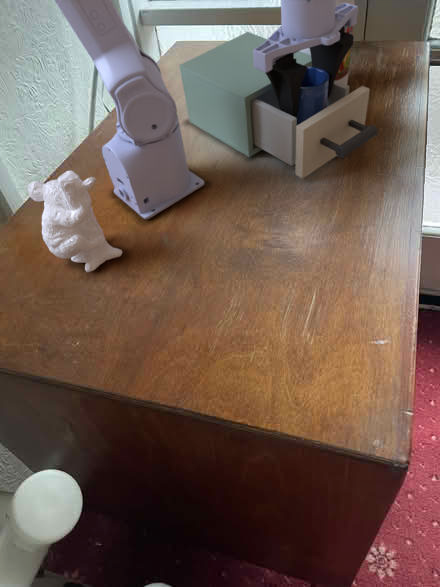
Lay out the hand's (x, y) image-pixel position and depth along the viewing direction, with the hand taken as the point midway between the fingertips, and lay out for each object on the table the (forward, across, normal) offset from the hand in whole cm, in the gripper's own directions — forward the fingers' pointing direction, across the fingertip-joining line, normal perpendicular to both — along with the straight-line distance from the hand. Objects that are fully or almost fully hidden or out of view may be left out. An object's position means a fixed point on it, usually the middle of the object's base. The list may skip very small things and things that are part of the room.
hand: (305, 105), depth 58 cm
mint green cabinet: (+6, 0, +11) cm, 12 cm away
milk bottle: (+6, +13, +9) cm, 17 cm away
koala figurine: (+6, -31, +4) cm, 32 cm away
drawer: (+5, 0, -1) cm, 5 cm away
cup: (+1, 0, 0) cm, 1 cm away
